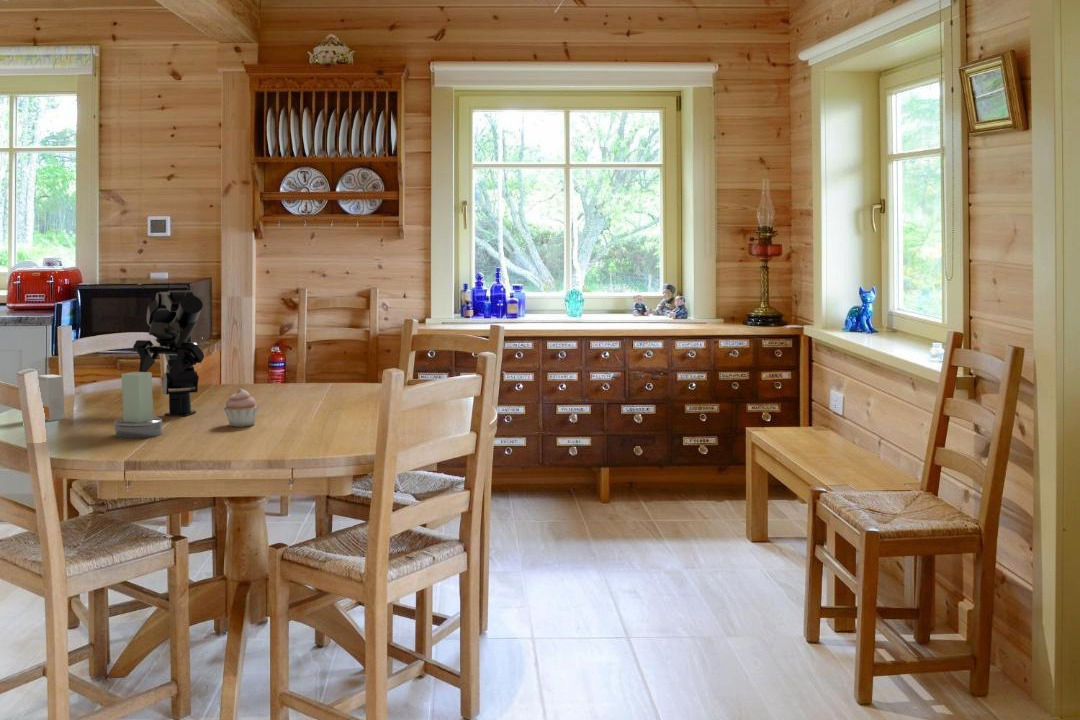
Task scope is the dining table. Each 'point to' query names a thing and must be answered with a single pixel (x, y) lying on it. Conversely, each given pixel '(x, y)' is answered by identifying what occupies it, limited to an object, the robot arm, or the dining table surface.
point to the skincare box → (52, 396)
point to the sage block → (137, 397)
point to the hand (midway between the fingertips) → (155, 376)
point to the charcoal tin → (138, 429)
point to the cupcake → (241, 409)
